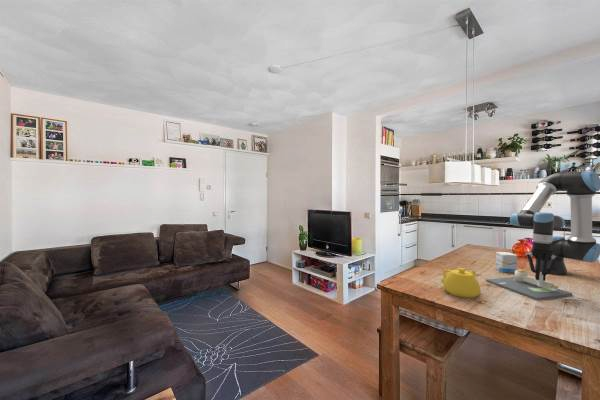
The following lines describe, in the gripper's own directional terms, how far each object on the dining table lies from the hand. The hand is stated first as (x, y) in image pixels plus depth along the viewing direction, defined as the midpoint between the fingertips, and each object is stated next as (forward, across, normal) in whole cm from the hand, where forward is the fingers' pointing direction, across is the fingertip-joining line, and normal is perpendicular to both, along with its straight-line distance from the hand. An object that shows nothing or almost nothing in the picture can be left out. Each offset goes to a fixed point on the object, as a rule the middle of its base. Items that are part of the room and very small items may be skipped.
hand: (539, 286), depth 135 cm
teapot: (+4, -37, -18) cm, 41 cm away
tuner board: (+3, -5, +3) cm, 6 cm away
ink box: (+3, -7, +35) cm, 36 cm away
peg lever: (+1, -1, +5) cm, 5 cm away
